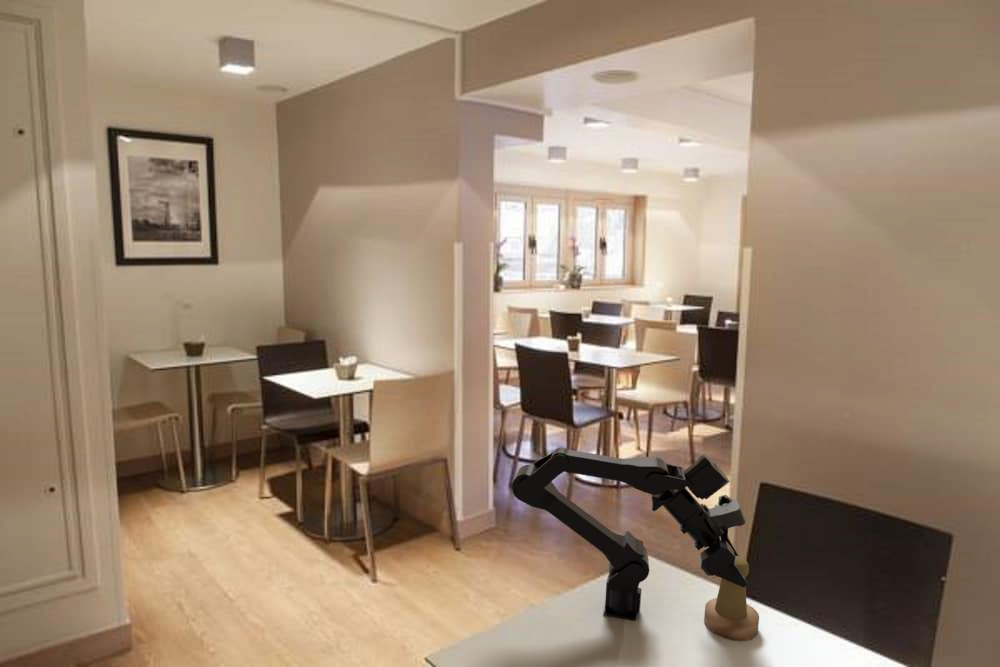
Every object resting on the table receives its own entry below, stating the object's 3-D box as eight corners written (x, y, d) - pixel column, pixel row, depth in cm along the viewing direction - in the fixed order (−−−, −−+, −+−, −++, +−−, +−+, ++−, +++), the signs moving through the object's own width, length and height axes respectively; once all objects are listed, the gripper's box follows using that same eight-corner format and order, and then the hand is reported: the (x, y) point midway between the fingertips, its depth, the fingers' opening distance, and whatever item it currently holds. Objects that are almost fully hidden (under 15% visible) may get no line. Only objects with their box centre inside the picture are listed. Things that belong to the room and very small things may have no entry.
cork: (749, 622, 125) (754, 567, 123) (716, 617, 126) (721, 563, 125) (744, 605, 131) (749, 553, 129) (712, 601, 132) (717, 549, 130)
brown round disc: (704, 634, 125) (705, 620, 125) (703, 607, 135) (704, 594, 135) (760, 645, 123) (761, 630, 122) (755, 616, 132) (756, 603, 132)
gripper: (725, 507, 117) (786, 574, 116) (716, 472, 135) (768, 529, 134) (677, 542, 120) (735, 608, 119) (674, 503, 138) (725, 560, 137)
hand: (742, 574), depth 127 cm, fingers open, 9 cm apart
